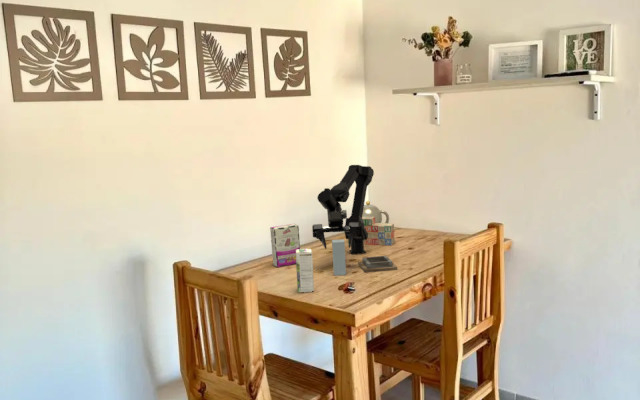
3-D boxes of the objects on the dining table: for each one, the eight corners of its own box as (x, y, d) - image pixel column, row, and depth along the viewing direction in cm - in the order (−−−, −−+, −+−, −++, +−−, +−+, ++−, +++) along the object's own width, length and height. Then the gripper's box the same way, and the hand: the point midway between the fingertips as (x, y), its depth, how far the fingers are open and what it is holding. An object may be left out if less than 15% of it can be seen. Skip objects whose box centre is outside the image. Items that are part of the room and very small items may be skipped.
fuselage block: (333, 272, 228) (331, 240, 226) (345, 271, 228) (343, 239, 226) (334, 275, 224) (332, 242, 222) (346, 275, 224) (344, 241, 222)
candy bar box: (296, 260, 249) (294, 223, 247) (301, 263, 245) (299, 224, 242) (272, 265, 244) (269, 226, 242) (276, 267, 240) (274, 228, 237)
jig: (358, 264, 238) (357, 257, 238) (389, 261, 240) (389, 254, 240) (364, 272, 226) (364, 265, 225) (397, 269, 227) (397, 262, 227)
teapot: (351, 235, 293) (350, 203, 291) (357, 229, 306) (356, 199, 304) (387, 235, 288) (386, 203, 286) (392, 230, 301) (390, 198, 298)
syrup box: (297, 288, 210) (294, 249, 208) (313, 287, 211) (311, 247, 208) (297, 293, 205) (295, 252, 202) (314, 291, 205) (312, 251, 203)
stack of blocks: (394, 242, 273) (394, 216, 272) (391, 245, 268) (390, 219, 266) (351, 241, 281) (350, 216, 279) (347, 244, 276) (346, 218, 274)
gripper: (311, 204, 230) (313, 237, 220) (358, 201, 230) (362, 235, 221) (311, 220, 239) (313, 253, 229) (357, 218, 239) (361, 250, 230)
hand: (337, 247), depth 227 cm, fingers open, 9 cm apart
